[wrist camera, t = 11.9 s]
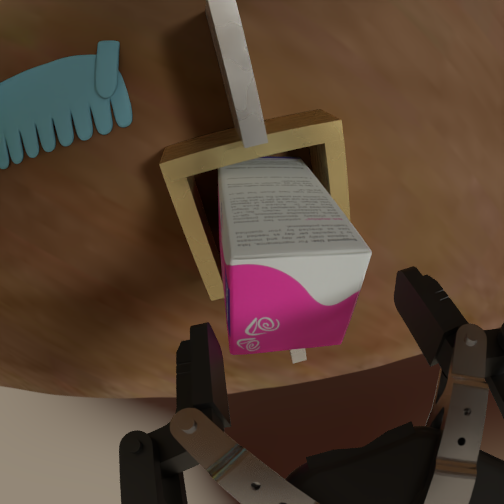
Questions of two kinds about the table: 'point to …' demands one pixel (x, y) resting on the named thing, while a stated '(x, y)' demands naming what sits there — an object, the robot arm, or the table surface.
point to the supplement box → (285, 257)
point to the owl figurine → (62, 102)
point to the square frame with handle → (245, 146)
